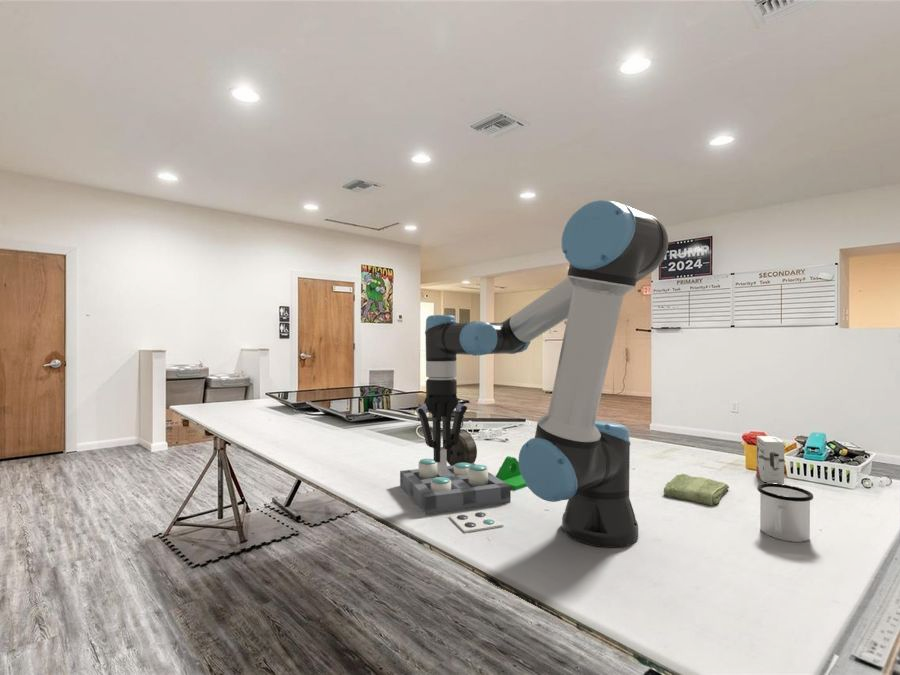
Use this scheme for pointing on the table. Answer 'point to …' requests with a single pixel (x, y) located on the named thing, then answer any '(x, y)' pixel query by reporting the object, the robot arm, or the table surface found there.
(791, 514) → the white oval bin
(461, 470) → the button
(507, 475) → the bracket
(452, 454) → the alarm clock
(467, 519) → the tile
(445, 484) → the button
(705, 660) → the table surface
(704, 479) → the washcloth
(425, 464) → the button
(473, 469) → the button
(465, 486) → the button board
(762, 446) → the ink box
